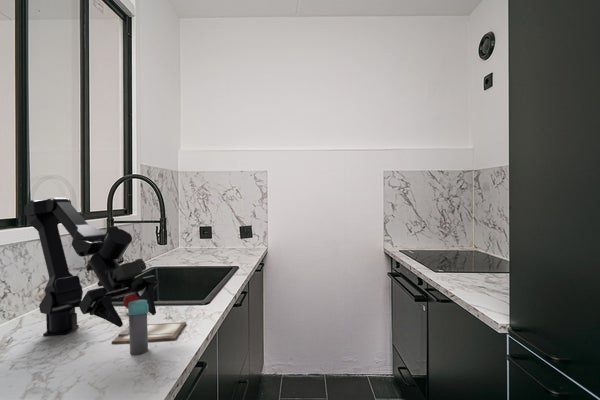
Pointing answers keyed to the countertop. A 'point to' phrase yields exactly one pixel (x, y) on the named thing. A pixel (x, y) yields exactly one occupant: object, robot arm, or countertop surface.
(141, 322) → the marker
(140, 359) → the countertop surface
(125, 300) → the red rounded piece
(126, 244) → the robot arm
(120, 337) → the clipboard
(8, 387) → the countertop surface
